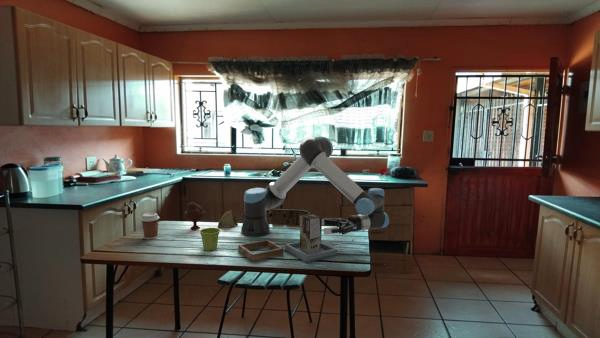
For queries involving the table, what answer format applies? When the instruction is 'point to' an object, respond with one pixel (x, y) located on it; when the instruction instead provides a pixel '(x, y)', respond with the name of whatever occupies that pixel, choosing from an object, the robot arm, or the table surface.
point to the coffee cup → (150, 225)
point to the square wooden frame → (261, 255)
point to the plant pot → (210, 238)
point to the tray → (325, 253)
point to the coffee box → (310, 233)
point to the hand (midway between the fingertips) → (317, 227)
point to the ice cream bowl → (194, 214)
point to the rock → (228, 220)
